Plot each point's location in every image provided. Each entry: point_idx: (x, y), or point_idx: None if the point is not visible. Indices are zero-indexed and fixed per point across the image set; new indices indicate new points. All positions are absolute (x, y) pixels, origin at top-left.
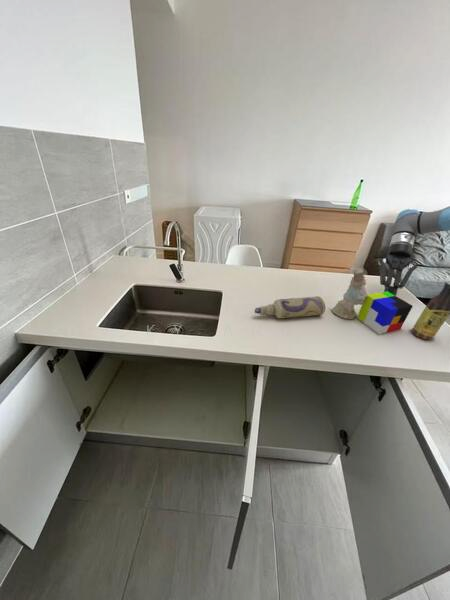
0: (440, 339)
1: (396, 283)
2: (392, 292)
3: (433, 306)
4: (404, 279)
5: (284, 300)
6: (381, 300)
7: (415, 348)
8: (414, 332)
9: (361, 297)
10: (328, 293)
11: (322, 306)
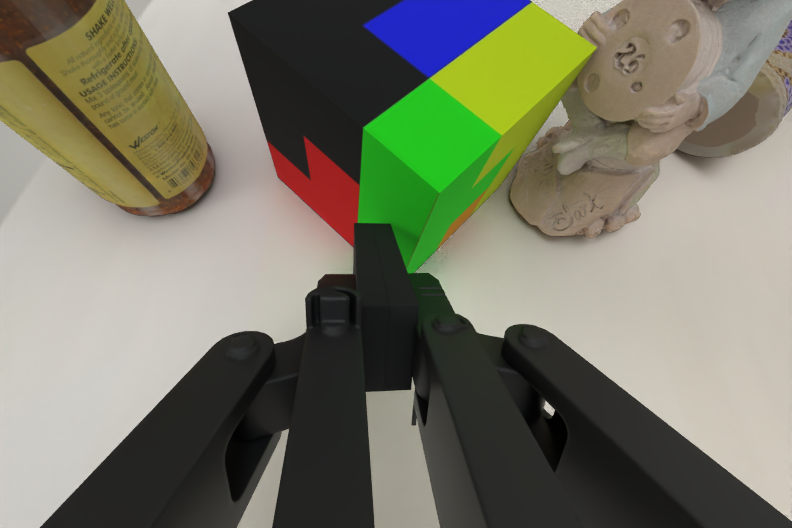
0: (55, 177)
1: (347, 348)
2: (368, 265)
3: None
4: (190, 454)
5: None
6: (479, 6)
7: (238, 61)
8: (208, 147)
9: (610, 9)
10: (731, 411)
11: None
